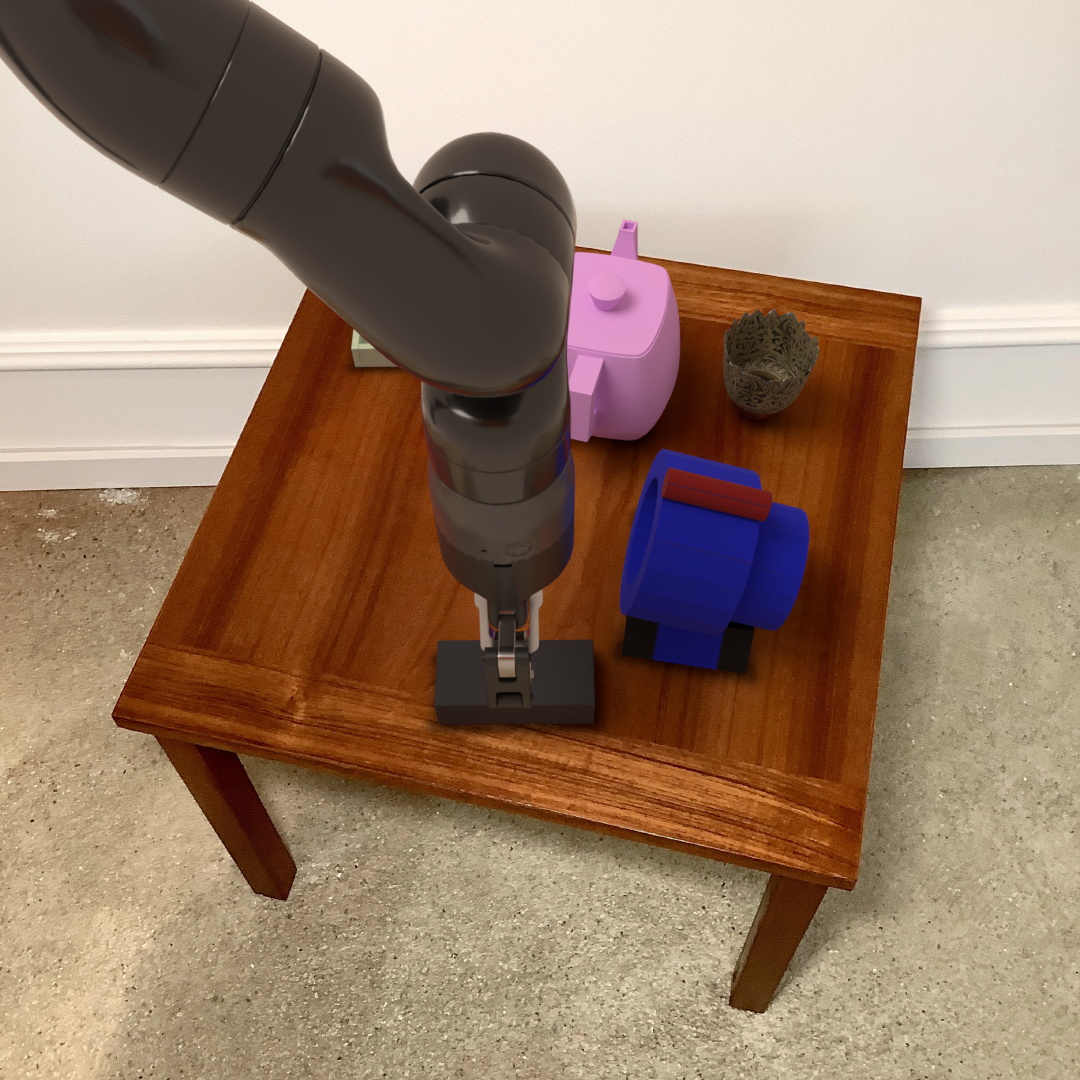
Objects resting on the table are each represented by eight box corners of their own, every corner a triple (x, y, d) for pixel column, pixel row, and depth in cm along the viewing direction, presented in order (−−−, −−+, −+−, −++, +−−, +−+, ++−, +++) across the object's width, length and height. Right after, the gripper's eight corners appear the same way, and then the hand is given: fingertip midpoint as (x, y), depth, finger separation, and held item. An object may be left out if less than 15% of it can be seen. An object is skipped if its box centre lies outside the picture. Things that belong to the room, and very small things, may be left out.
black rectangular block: (438, 725, 78) (434, 705, 75) (441, 661, 80) (437, 639, 77) (593, 724, 77) (595, 704, 74) (591, 660, 80) (593, 638, 77)
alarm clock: (631, 515, 87) (645, 395, 74) (787, 537, 85) (829, 419, 73) (610, 653, 80) (621, 548, 68) (778, 678, 79) (822, 576, 66)
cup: (816, 426, 91) (837, 362, 84) (737, 453, 90) (752, 390, 83) (773, 362, 95) (790, 297, 88) (697, 387, 93) (708, 322, 87)
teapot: (650, 497, 88) (664, 397, 77) (500, 467, 89) (493, 365, 78) (693, 317, 98) (710, 205, 87) (558, 293, 99) (558, 181, 88)
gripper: (438, 392, 61) (461, 543, 75) (424, 618, 54) (452, 739, 67) (572, 390, 61) (570, 542, 75) (577, 617, 53) (574, 739, 67)
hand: (514, 635), depth 71 cm, fingers open, 8 cm apart
